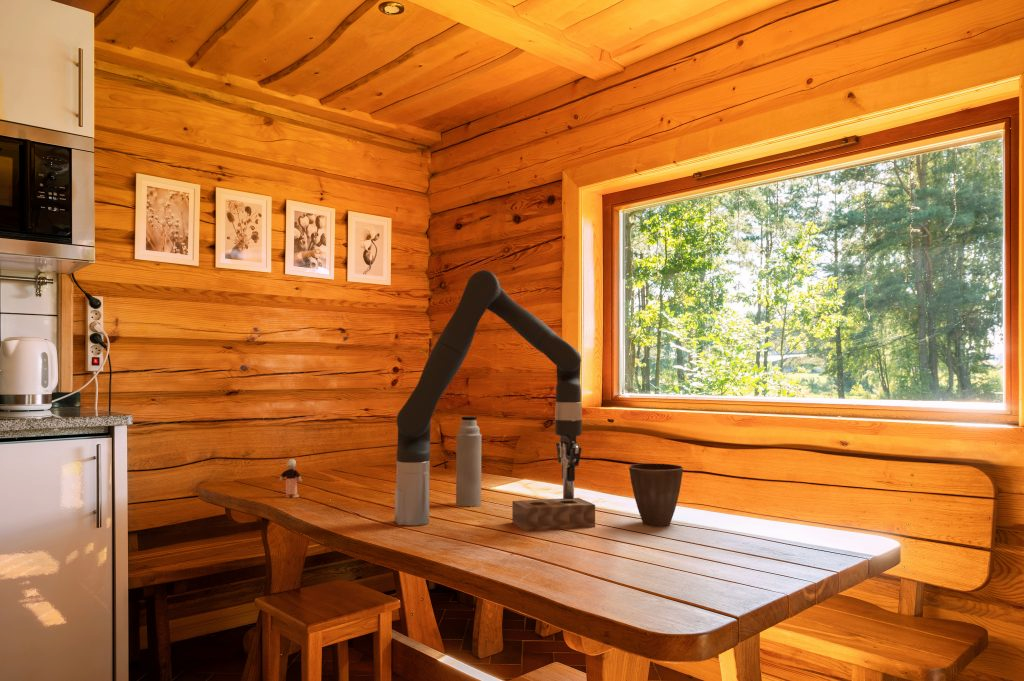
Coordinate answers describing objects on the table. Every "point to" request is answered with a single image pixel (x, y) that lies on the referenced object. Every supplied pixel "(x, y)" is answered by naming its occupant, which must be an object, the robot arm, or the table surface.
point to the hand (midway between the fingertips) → (568, 479)
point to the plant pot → (656, 491)
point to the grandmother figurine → (291, 479)
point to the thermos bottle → (468, 463)
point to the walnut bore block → (553, 514)
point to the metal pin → (567, 482)
